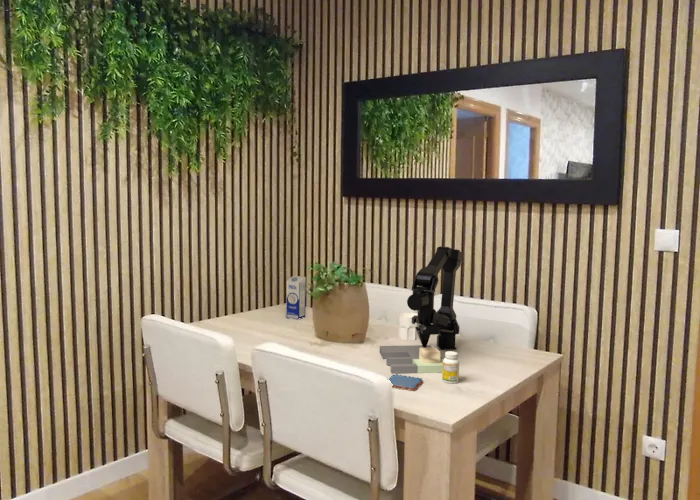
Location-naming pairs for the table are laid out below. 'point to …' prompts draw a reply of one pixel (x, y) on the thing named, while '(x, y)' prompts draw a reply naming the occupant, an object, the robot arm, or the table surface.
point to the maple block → (429, 355)
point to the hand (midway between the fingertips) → (424, 347)
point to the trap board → (408, 360)
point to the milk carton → (296, 297)
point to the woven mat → (405, 382)
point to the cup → (407, 326)
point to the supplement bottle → (450, 368)
